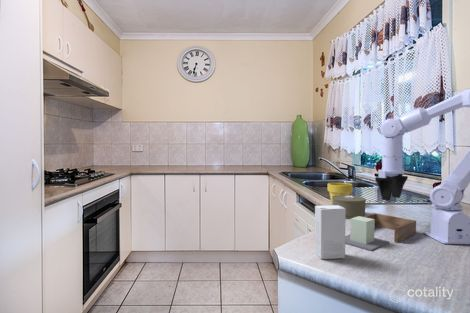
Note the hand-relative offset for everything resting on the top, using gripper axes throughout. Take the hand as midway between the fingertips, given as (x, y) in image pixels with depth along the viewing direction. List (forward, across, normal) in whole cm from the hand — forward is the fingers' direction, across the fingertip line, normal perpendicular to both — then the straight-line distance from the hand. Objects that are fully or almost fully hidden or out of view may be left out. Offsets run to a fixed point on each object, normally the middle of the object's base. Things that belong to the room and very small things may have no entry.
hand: (391, 198), depth 94 cm
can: (+10, -4, -17) cm, 20 cm away
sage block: (+9, +21, +1) cm, 23 cm away
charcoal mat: (+9, +21, +1) cm, 23 cm away
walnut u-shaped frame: (+9, +8, +1) cm, 12 cm away
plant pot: (+10, -18, -29) cm, 35 cm away
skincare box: (+10, +37, +1) cm, 39 cm away
